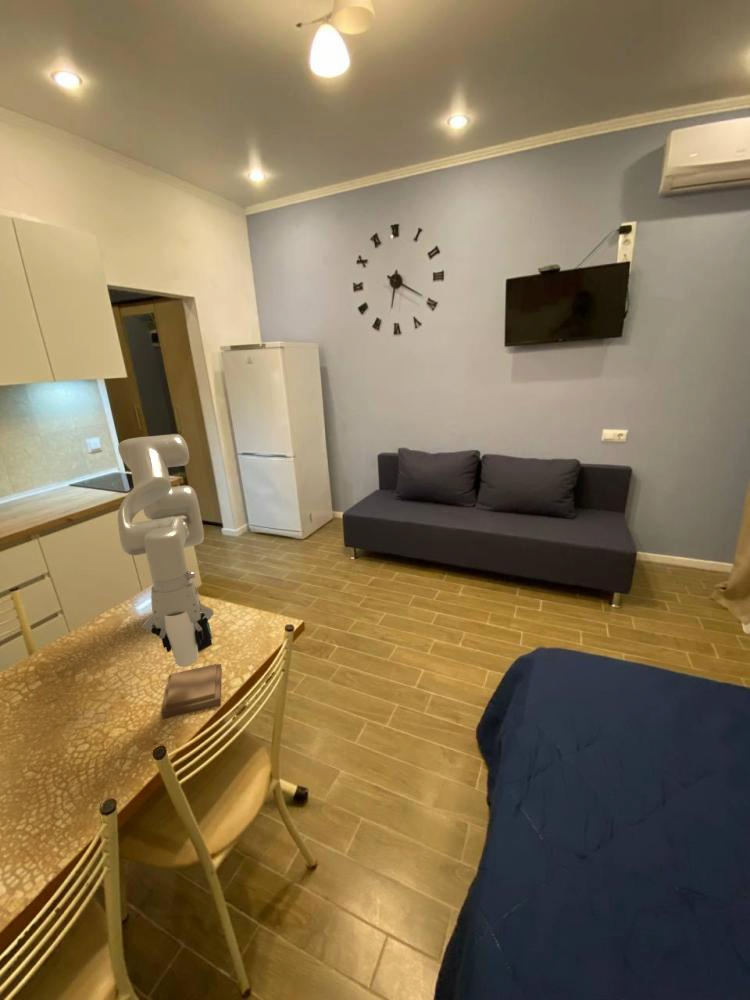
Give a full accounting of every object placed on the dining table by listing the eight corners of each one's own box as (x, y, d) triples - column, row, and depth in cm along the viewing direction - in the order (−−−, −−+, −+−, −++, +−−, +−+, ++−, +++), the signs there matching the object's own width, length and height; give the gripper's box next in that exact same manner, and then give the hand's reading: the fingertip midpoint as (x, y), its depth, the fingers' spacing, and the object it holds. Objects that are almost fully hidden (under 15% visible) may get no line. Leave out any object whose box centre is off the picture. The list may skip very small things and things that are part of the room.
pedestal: (170, 681, 112) (168, 672, 111) (221, 669, 115) (220, 660, 114) (163, 719, 100) (160, 709, 99) (220, 704, 104) (219, 695, 103)
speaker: (215, 646, 124) (207, 615, 122) (195, 654, 122) (186, 622, 119) (211, 634, 131) (203, 605, 128) (191, 642, 128) (183, 612, 125)
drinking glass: (191, 671, 100) (180, 618, 96) (166, 668, 102) (154, 615, 97) (207, 652, 107) (198, 601, 102) (184, 649, 108) (173, 599, 103)
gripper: (211, 566, 103) (222, 629, 109) (132, 579, 98) (148, 643, 104) (210, 581, 96) (221, 646, 102) (125, 595, 91) (142, 663, 97)
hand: (184, 644), depth 103 cm, fingers closed on drinking glass, 6 cm apart
